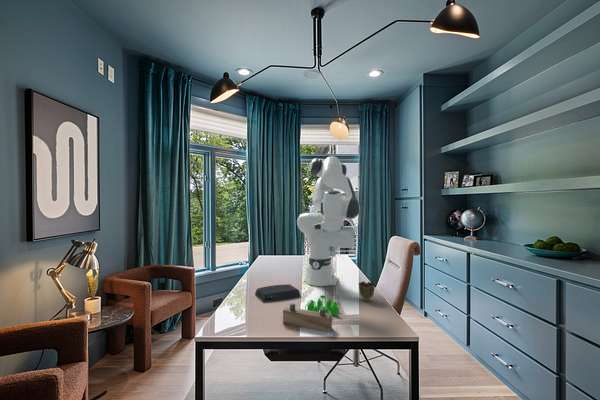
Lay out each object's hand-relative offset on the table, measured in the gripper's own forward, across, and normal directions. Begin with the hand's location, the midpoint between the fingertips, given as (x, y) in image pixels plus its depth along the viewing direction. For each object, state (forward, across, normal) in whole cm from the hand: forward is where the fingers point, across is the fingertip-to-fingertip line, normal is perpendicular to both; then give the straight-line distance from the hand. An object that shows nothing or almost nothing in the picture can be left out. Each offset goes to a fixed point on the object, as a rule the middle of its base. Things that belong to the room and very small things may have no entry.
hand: (332, 256), depth 142 cm
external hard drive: (+22, +26, +2) cm, 34 cm away
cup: (+21, -14, -9) cm, 27 cm away
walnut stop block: (+21, 0, +29) cm, 36 cm away
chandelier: (+21, -1, +14) cm, 25 cm away
